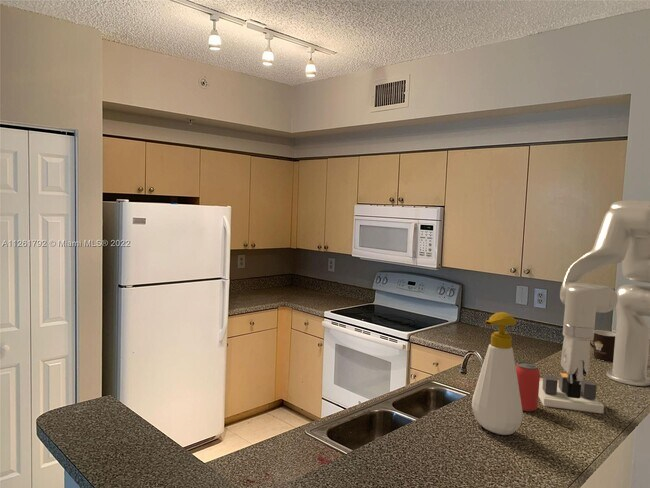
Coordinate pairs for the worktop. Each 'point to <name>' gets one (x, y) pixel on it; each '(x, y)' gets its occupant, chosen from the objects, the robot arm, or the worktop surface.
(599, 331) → the coffee mug
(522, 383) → the beer can
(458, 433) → the worktop surface
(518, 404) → the soap bottle
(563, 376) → the block
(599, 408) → the breaker panel
